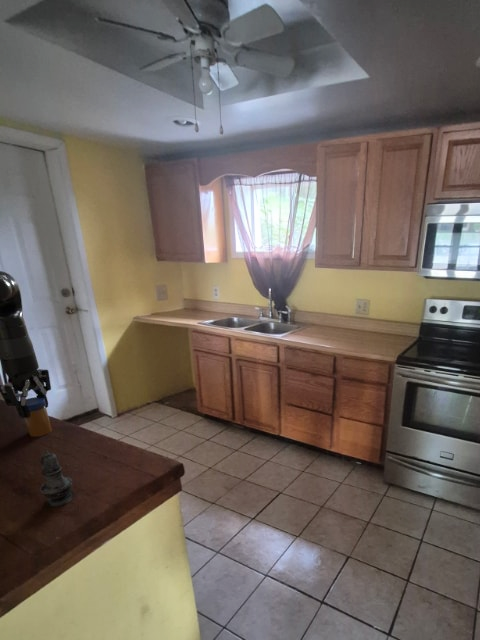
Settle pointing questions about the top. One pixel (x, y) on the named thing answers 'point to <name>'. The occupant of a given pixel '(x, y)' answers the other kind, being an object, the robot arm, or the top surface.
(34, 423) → the jar
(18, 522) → the top surface
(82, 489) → the top surface
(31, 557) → the top surface
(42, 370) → the robot arm
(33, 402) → the lid
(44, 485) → the grey metal fitting
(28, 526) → the top surface
